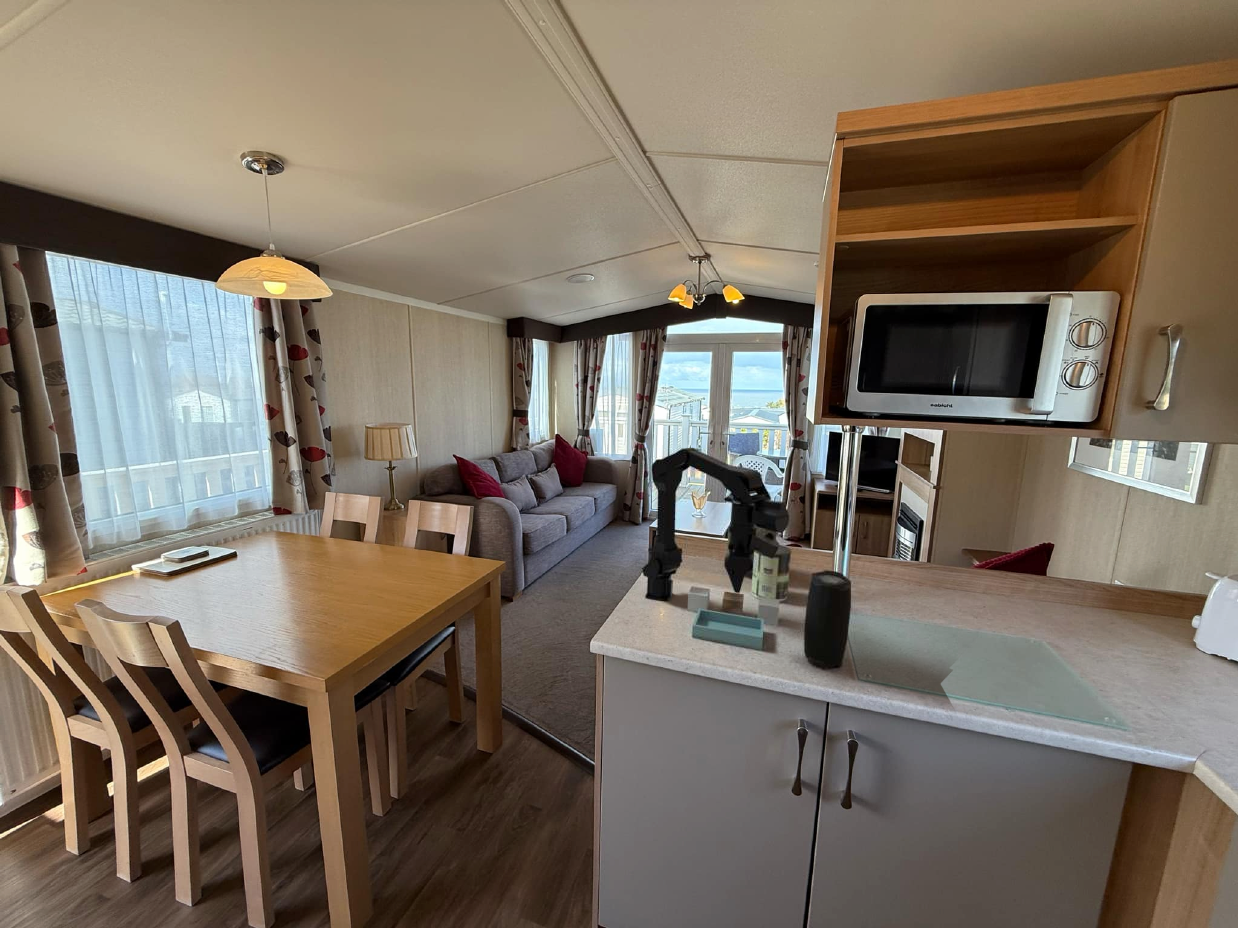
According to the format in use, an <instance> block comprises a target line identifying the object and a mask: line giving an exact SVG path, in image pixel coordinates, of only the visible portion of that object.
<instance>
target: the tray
mask: <svg viewBox="0 0 1238 928" xmlns="http://www.w3.org/2000/svg"><path fill="white" fill-rule="evenodd" d="M691 631H692V632H691V637H692V638H694V639H700V640H705V641H706V640H707V641H710V642H717V643H721V642H722V643H723V644H726V645H727V644H728V645H732V646H738V647H743V648H748V649H755V650H760V651H762V649H763V637H764V636H763V635H764V619H758V617H752V616H751V617H750V616H746V615H742V616H740V615H734V614H728V613H722V611H715V610H711V609H708V610H704V609H699V610H698V612H696V615H695V618H694V621H693V623H692V630H691ZM722 643H721V644H722Z"/></svg>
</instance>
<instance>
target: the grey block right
mask: <svg viewBox="0 0 1238 928" xmlns="http://www.w3.org/2000/svg"><path fill="white" fill-rule="evenodd" d="M757 607H758V609H757V618H758V619H764V624H765V625H770V626H775V627H778V626H779V614H780V602H779V600H778V599H771V598H765V597H759V599H758V606H757ZM764 624H763V625H764Z"/></svg>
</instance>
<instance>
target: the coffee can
mask: <svg viewBox="0 0 1238 928" xmlns="http://www.w3.org/2000/svg"><path fill="white" fill-rule="evenodd" d="M791 555H792V549H791V548H790V547H788V546H785V545H781V544H779V548H778V550H777V552H776V554H775V556H774V558H773V559H772V558H769V557H767V555H765V554H762V553H760V552H758V551H756V550H755V551H754V563H753V570H752V578H751V579H752V580H751V590H750V592H751V595H752V596H753V597H755V598H757V599H758V598H759V597H765V598H771V599H778V600H779V603H780V602H783V601H786V600H787V599H788V592H789V579H790V578H789V577H790V569H791V567H790V566H791Z"/></svg>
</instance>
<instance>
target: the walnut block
mask: <svg viewBox="0 0 1238 928" xmlns="http://www.w3.org/2000/svg"><path fill="white" fill-rule="evenodd" d="M744 597H745V594H744V593H735V592H732V591H724V594H723V596H722V603H721V604H722V606H721V612H722V613H728V614H734V615H740V616H743V613H744V612H743V611H744V610H743V609H744Z"/></svg>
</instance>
